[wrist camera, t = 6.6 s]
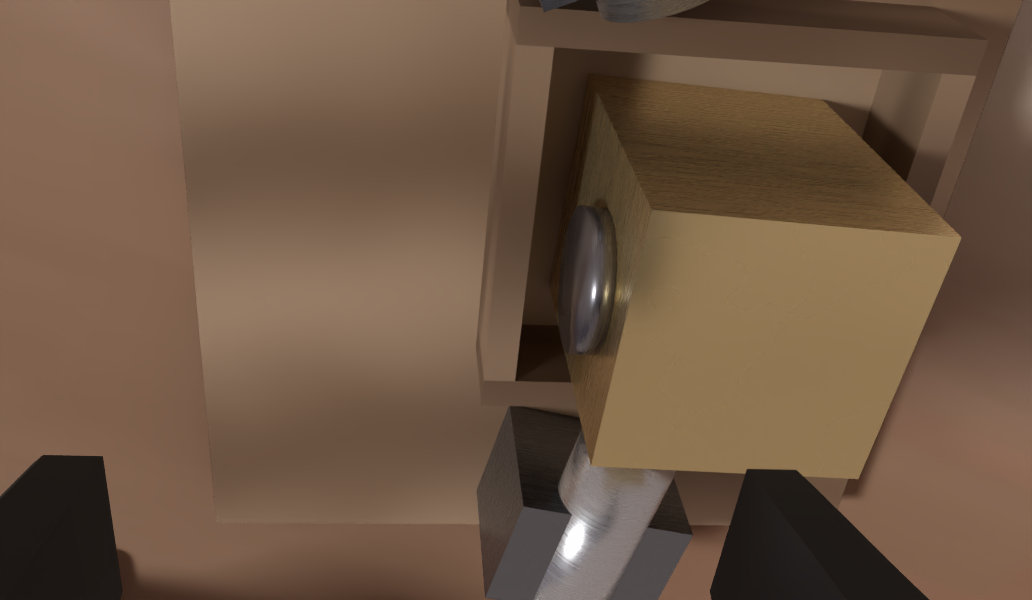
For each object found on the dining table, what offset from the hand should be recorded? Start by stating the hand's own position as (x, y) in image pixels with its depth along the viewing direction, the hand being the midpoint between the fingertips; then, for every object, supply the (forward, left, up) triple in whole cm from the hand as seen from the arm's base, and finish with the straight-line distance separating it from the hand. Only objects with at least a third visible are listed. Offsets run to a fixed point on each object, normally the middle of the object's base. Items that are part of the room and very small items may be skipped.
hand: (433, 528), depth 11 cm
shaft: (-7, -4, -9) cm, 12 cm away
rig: (0, -3, -10) cm, 10 cm away
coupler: (0, -5, -9) cm, 10 cm away
